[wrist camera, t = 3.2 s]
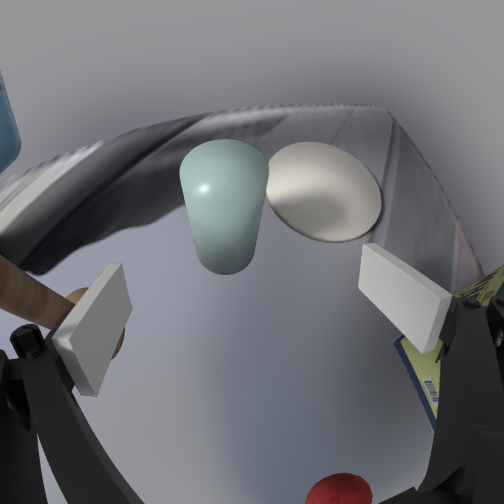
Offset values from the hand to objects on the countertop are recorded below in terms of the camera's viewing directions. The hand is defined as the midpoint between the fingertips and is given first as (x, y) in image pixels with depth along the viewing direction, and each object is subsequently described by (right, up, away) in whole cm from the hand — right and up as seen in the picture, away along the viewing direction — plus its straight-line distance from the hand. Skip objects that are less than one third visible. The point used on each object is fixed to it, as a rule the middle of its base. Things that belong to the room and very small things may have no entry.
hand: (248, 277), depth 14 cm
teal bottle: (-3, +2, +14) cm, 15 cm away
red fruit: (+7, -22, +4) cm, 23 cm away
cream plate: (+9, +9, +19) cm, 23 cm away
